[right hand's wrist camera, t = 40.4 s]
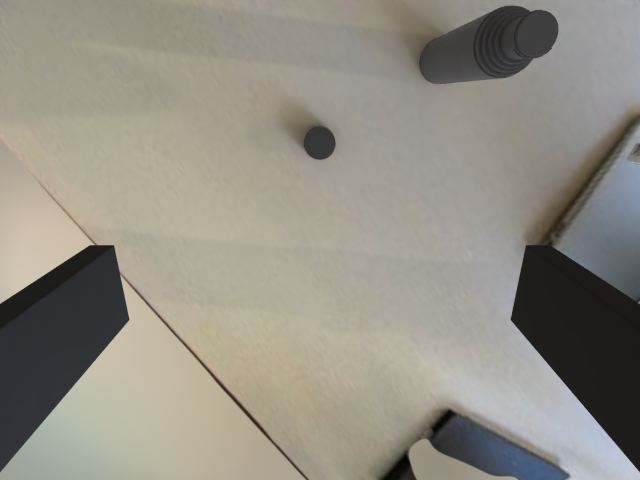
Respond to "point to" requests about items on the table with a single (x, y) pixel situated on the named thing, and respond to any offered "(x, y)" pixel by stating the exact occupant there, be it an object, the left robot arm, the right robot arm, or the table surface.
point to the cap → (319, 143)
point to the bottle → (490, 46)
